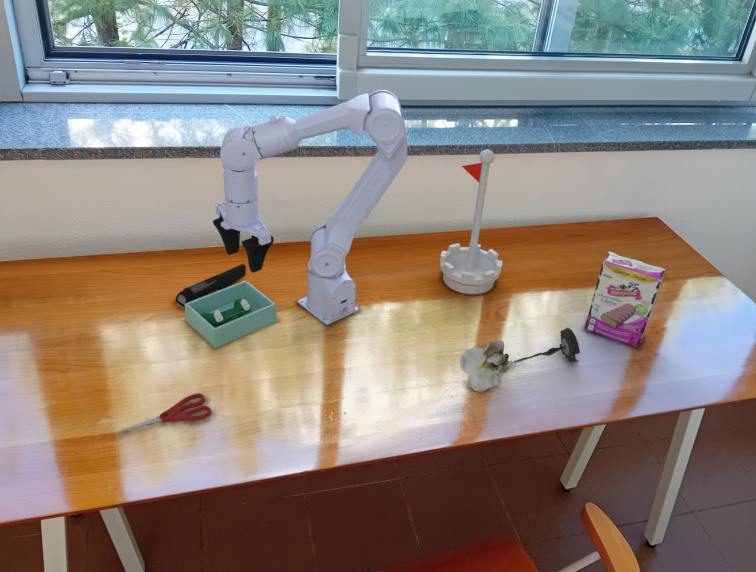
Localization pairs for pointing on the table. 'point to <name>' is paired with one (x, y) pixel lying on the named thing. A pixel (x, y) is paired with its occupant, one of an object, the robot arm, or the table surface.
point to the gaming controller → (227, 313)
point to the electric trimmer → (210, 285)
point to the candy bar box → (624, 299)
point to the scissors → (179, 412)
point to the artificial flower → (505, 360)
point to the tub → (224, 300)
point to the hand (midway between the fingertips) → (244, 261)
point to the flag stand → (472, 245)
